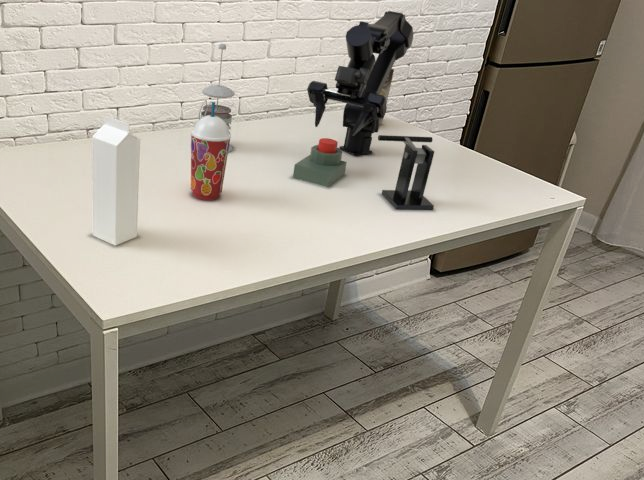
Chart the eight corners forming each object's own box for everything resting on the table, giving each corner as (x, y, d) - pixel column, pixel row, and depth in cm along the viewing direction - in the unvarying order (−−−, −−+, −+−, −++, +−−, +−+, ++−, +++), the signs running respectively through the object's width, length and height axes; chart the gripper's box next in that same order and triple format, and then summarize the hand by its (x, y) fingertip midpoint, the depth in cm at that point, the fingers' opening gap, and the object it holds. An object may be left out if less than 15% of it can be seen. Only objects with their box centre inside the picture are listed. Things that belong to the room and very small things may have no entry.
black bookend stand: (381, 194, 172) (393, 140, 165) (416, 195, 174) (430, 141, 167) (395, 210, 164) (409, 154, 157) (432, 210, 166) (447, 155, 159)
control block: (311, 165, 184) (315, 141, 181) (345, 174, 181) (349, 150, 178) (292, 178, 175) (296, 153, 172) (327, 187, 172) (331, 162, 169)
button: (321, 147, 179) (323, 136, 178) (338, 151, 177) (340, 141, 176) (314, 151, 176) (316, 140, 174) (331, 156, 174) (333, 145, 173)
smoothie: (229, 193, 163) (239, 101, 152) (217, 206, 156) (226, 110, 145) (194, 185, 165) (201, 94, 154) (180, 197, 158) (187, 103, 147)
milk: (114, 227, 143) (116, 112, 131) (137, 237, 140) (141, 120, 128) (91, 235, 138) (91, 117, 126) (115, 246, 136) (117, 126, 124)
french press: (239, 147, 190) (250, 45, 177) (215, 157, 182) (225, 51, 168) (208, 138, 194) (216, 37, 181) (182, 147, 186) (189, 42, 172)
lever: (376, 141, 168) (379, 131, 167) (428, 143, 171) (432, 133, 170) (391, 163, 161) (394, 153, 160) (445, 164, 164) (449, 154, 163)
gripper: (316, 44, 171) (292, 102, 168) (394, 59, 165) (370, 119, 162) (322, 74, 181) (299, 128, 179) (395, 89, 175) (372, 146, 173)
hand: (334, 130), depth 173 cm, fingers open, 9 cm apart
